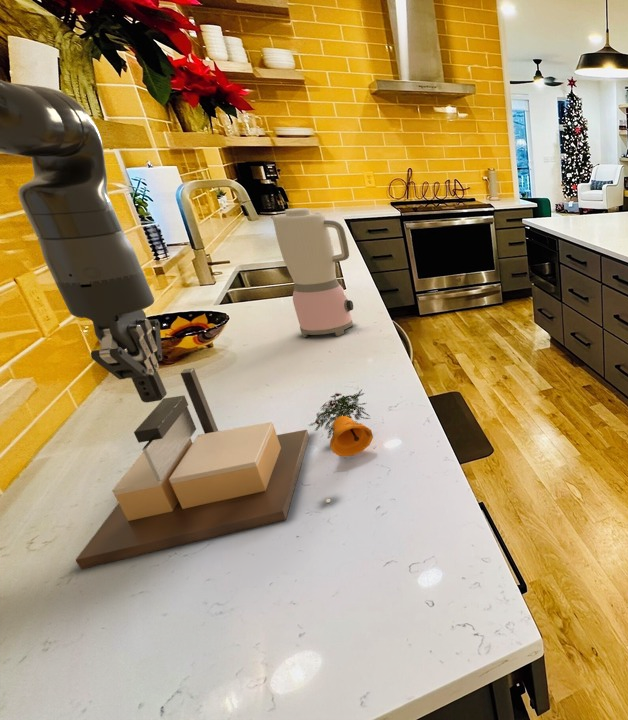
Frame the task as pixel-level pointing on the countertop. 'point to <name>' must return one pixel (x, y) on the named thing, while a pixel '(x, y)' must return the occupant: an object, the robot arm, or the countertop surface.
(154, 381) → the robot arm
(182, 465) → the tan rounded box
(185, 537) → the board
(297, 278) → the blender
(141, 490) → the slice
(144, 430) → the knife
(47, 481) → the countertop surface
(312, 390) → the countertop surface
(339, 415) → the christmas decoration
